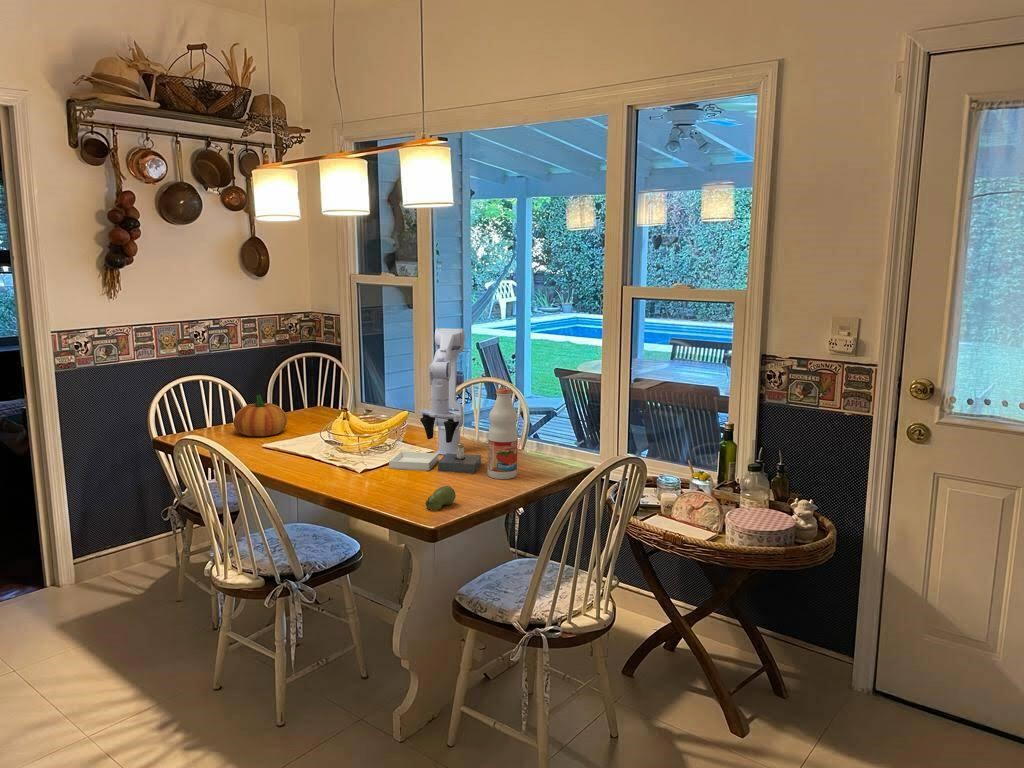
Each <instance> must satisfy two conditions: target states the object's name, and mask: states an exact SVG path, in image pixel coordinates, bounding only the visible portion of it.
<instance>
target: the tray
mask: <svg viewBox="0 0 1024 768" xmlns="http://www.w3.org/2000/svg"><path fill="white" fill-rule="evenodd" d="M438 462H439V454H438V453H436V452H421V451H405V450H404V451H403V450H400V451H399V452H398V453H396V454H395V455H394V456H393V457H392V458H390V460H389V461H388V468H389V469H390V470H402V471H404V470H406V471H408V470H409V471H419V472H420V471H421V472H423V471H424V472H429V471H430V470H432V468H433V467H434V466H435V465H436V464H438Z"/></svg>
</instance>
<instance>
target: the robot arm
mask: <svg viewBox="0 0 1024 768" xmlns="http://www.w3.org/2000/svg"><path fill="white" fill-rule="evenodd" d="M465 336H466V335H465V330H464V328H463V327H462V328H448V327H447V328H445V327H444V328H443V327H442V328H441V327H436V328H435V332H434V342H435V346H436V349H437V350H436V351H435V353H434V356H433V357H434V358H433V360H432V362H430V363H429V366H428V375H429V384H430V409H425V408H424V409H420V410H419V416H420V419H419V420H420V422H421V424H422V425H423V429H424V432H425V434H426V439H427V440H432V439H434V429H435V427H437V430H438V450H436V451H435V453H438V455H443V456H444V455H445V454H446V453H452V454H457V443H461V430H460V428H462V427H463V426H464V420H465V419H464V416H465V415H464V406H463V404H462V403H461V402H459V401H458V400H457V399H456V398H457V375H458V374H457V370H458V358H459V354H461V353H463V352H464V349H465V341H466V340H465V338H466V337H465Z"/></svg>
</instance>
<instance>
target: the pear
mask: <svg viewBox="0 0 1024 768" xmlns="http://www.w3.org/2000/svg"><path fill="white" fill-rule="evenodd" d="M456 494H457V493H456V491H455V489H454V488H453V487H451V486H449V485H444V486H443V485H442V486H440V487H438V488H437V489H435V490H434V492H433V493H432V494H431V495H429V496H428V498H427V500H426V501H425V506H426V509H427V508H428V509H427V510H430V509H432V510H431V511H433V510H437V511H440V510H441V509H442V507H443V506H449V505H452V504H453V503H454V502H455V500H456ZM439 509H440V510H439Z"/></svg>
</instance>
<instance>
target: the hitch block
mask: <svg viewBox="0 0 1024 768" xmlns="http://www.w3.org/2000/svg"><path fill="white" fill-rule="evenodd" d="M481 465H482V454H467V453H464V460H457V454H452V453H446V454H445V455H443V456H442V457H441V458H440V459H439V460H438V462H437V471H438V472H443V473H445V472H446V473H460V474H461V473H463V474H475V473H476V472H477V471H478V469H479V468H480V466H481Z"/></svg>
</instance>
